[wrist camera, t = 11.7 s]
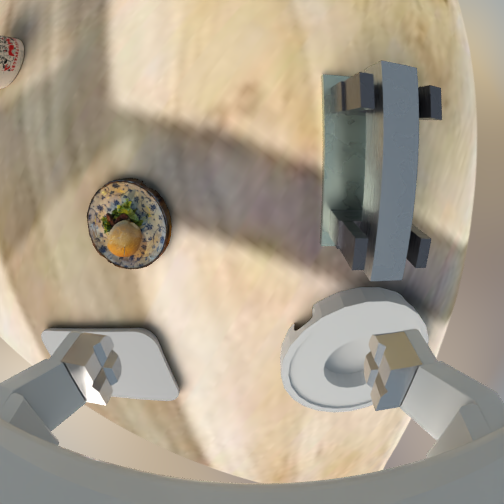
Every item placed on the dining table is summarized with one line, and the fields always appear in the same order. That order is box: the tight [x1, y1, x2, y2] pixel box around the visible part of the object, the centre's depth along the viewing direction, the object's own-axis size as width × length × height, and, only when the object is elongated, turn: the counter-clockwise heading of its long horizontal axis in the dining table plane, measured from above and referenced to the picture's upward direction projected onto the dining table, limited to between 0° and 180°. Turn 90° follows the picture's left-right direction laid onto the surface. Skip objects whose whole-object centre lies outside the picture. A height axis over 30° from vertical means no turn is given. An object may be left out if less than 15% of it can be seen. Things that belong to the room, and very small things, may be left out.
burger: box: [87, 178, 172, 269], centre depth 32 cm, size 12×12×8 cm
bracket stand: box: [320, 72, 442, 270], centre depth 27 cm, size 20×10×10 cm, turn 2°
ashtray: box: [280, 287, 429, 412], centre depth 41 cm, size 23×23×4 cm
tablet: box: [42, 328, 179, 401], centre depth 45 cm, size 16×26×2 cm, turn 99°
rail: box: [361, 61, 419, 281], centre depth 24 cm, size 20×4×4 cm, turn 2°
